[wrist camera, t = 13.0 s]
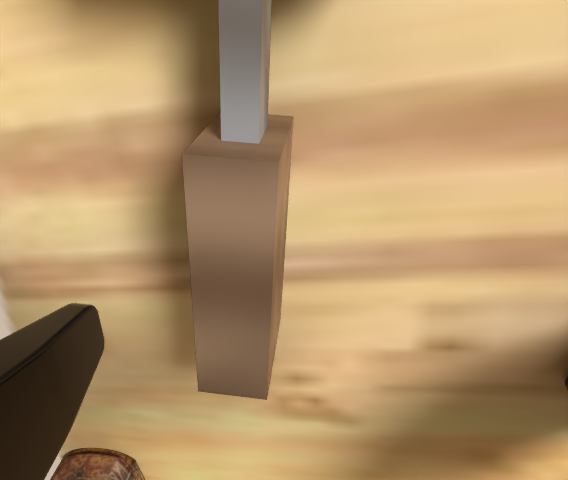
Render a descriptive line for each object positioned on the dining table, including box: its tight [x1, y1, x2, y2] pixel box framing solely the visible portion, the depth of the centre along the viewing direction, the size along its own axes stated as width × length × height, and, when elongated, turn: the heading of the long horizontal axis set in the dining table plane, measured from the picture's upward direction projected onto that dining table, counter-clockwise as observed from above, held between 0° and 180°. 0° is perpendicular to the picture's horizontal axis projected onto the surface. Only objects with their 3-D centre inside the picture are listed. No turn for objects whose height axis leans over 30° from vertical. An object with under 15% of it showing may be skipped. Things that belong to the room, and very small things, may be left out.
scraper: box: [182, 0, 293, 400], centre depth 15 cm, size 17×8×5 cm, turn 177°
